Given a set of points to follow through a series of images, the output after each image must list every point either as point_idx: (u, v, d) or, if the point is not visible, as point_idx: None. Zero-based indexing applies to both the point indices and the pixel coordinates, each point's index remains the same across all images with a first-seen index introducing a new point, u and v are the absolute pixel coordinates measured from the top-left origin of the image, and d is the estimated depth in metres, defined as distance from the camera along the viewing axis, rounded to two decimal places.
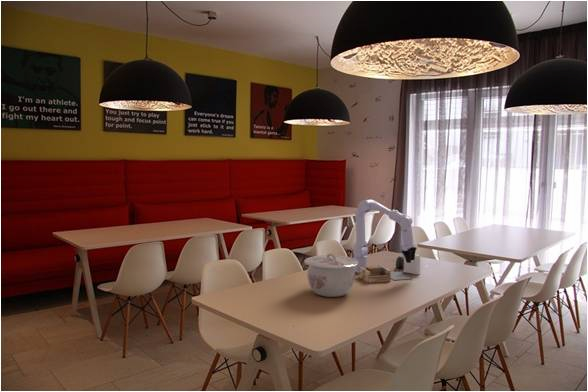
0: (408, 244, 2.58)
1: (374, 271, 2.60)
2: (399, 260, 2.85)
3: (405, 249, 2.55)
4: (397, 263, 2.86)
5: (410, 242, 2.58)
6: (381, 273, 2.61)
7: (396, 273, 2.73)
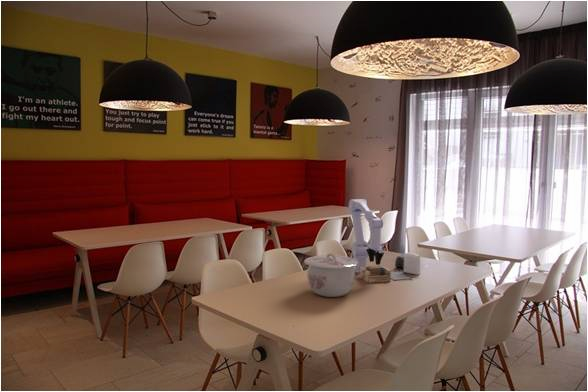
0: (378, 246, 2.58)
1: (374, 271, 2.60)
2: (398, 260, 2.86)
3: (381, 251, 2.54)
4: (396, 263, 2.86)
5: (379, 244, 2.59)
6: (381, 273, 2.61)
7: (396, 273, 2.73)
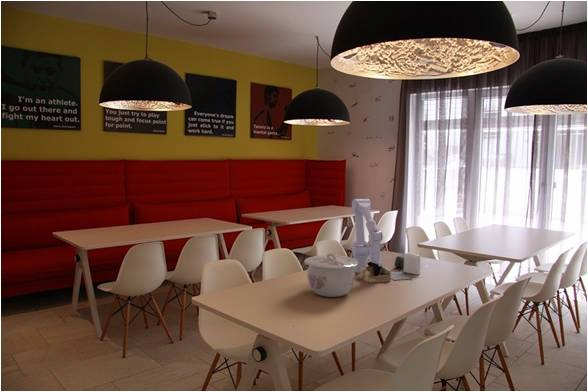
0: (378, 259, 2.59)
1: None
2: (398, 260, 2.86)
3: (381, 265, 2.55)
4: (396, 263, 2.86)
5: (379, 257, 2.60)
6: (381, 273, 2.61)
7: (396, 273, 2.73)
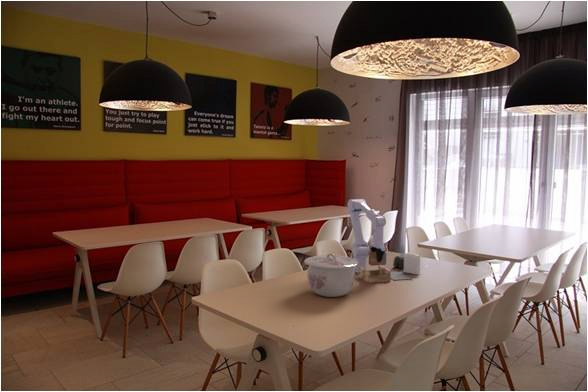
0: (381, 244, 2.59)
1: None
2: (397, 260, 2.86)
3: (384, 249, 2.54)
4: (395, 263, 2.87)
5: (382, 242, 2.60)
6: (384, 258, 2.61)
7: (396, 273, 2.73)
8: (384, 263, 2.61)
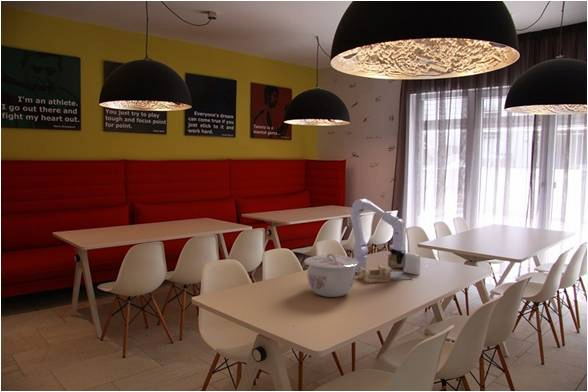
0: (401, 246, 2.64)
1: (396, 258, 2.64)
2: None
3: (404, 252, 2.60)
4: None
5: (402, 244, 2.65)
6: (403, 260, 2.66)
7: (396, 273, 2.73)
8: (403, 265, 2.66)
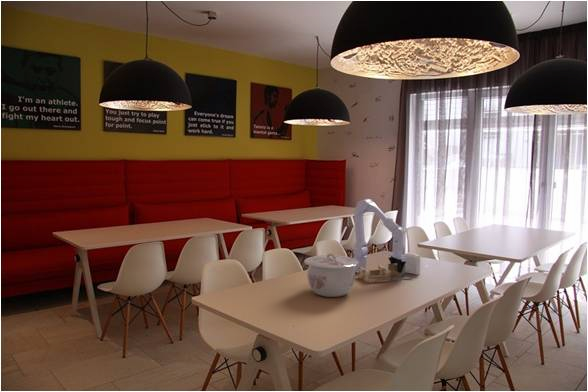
0: (401, 254, 2.64)
1: (396, 268, 2.65)
2: None
3: (404, 260, 2.60)
4: None
5: (402, 252, 2.65)
6: (403, 270, 2.66)
7: None
8: (403, 275, 2.67)
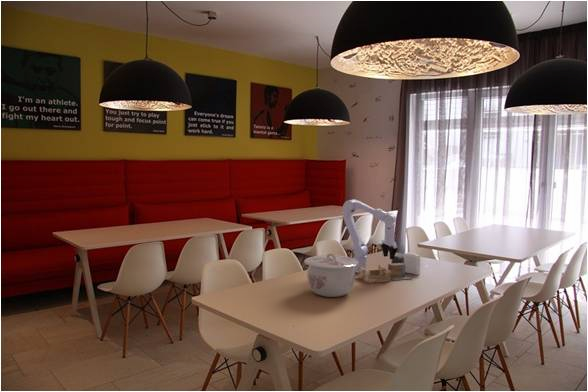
0: (392, 241, 2.67)
1: (396, 268, 2.65)
2: (395, 259, 2.87)
3: (395, 246, 2.63)
4: None
5: None
6: (403, 270, 2.66)
7: None
8: (403, 275, 2.67)
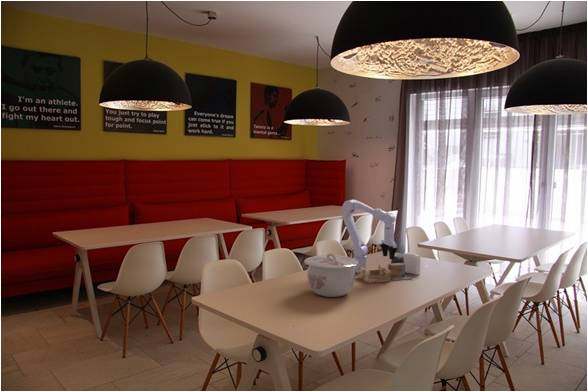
0: (392, 241, 2.67)
1: (396, 268, 2.65)
2: (394, 259, 2.87)
3: (395, 246, 2.63)
4: (392, 262, 2.87)
5: (393, 239, 2.68)
6: (403, 270, 2.66)
7: None
8: (403, 275, 2.67)
